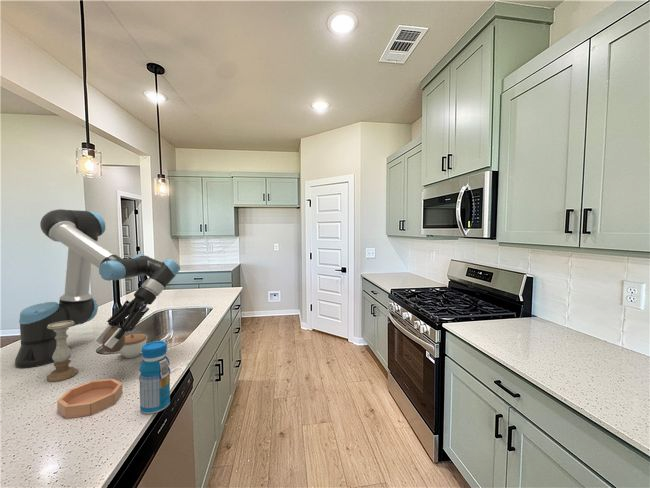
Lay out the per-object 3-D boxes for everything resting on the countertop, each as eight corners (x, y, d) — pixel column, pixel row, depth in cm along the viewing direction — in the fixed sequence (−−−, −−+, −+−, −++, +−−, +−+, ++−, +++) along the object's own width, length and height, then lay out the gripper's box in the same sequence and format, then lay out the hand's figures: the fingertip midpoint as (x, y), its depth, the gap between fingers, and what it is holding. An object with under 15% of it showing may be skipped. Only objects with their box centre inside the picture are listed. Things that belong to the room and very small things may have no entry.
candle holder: (39, 381, 103) (37, 327, 102) (62, 370, 112) (61, 319, 111) (62, 382, 103) (60, 327, 102) (84, 370, 111) (82, 320, 110)
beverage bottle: (140, 419, 83) (139, 352, 82) (138, 404, 90) (137, 343, 89) (172, 408, 88) (171, 346, 87) (168, 395, 95) (167, 337, 94)
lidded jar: (132, 361, 119) (131, 339, 119) (111, 359, 122) (110, 337, 121) (152, 351, 130) (152, 331, 129) (132, 349, 132) (132, 329, 132)
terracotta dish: (51, 407, 88) (51, 396, 88) (107, 384, 101) (107, 375, 101) (72, 423, 81) (71, 411, 81) (129, 397, 94) (129, 387, 94)
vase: (107, 356, 101) (106, 332, 100) (99, 351, 104) (98, 328, 104) (128, 349, 106) (128, 326, 106) (120, 345, 110) (120, 323, 110)
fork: (142, 388, 101) (141, 382, 101) (185, 362, 120) (185, 358, 120) (148, 389, 100) (148, 384, 100) (191, 363, 119) (191, 359, 119)
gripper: (169, 300, 113) (125, 355, 100) (142, 294, 123) (98, 343, 109) (156, 289, 108) (107, 345, 95) (129, 283, 118) (81, 334, 104)
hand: (102, 344), depth 102 cm, fingers closed on vase, 7 cm apart
